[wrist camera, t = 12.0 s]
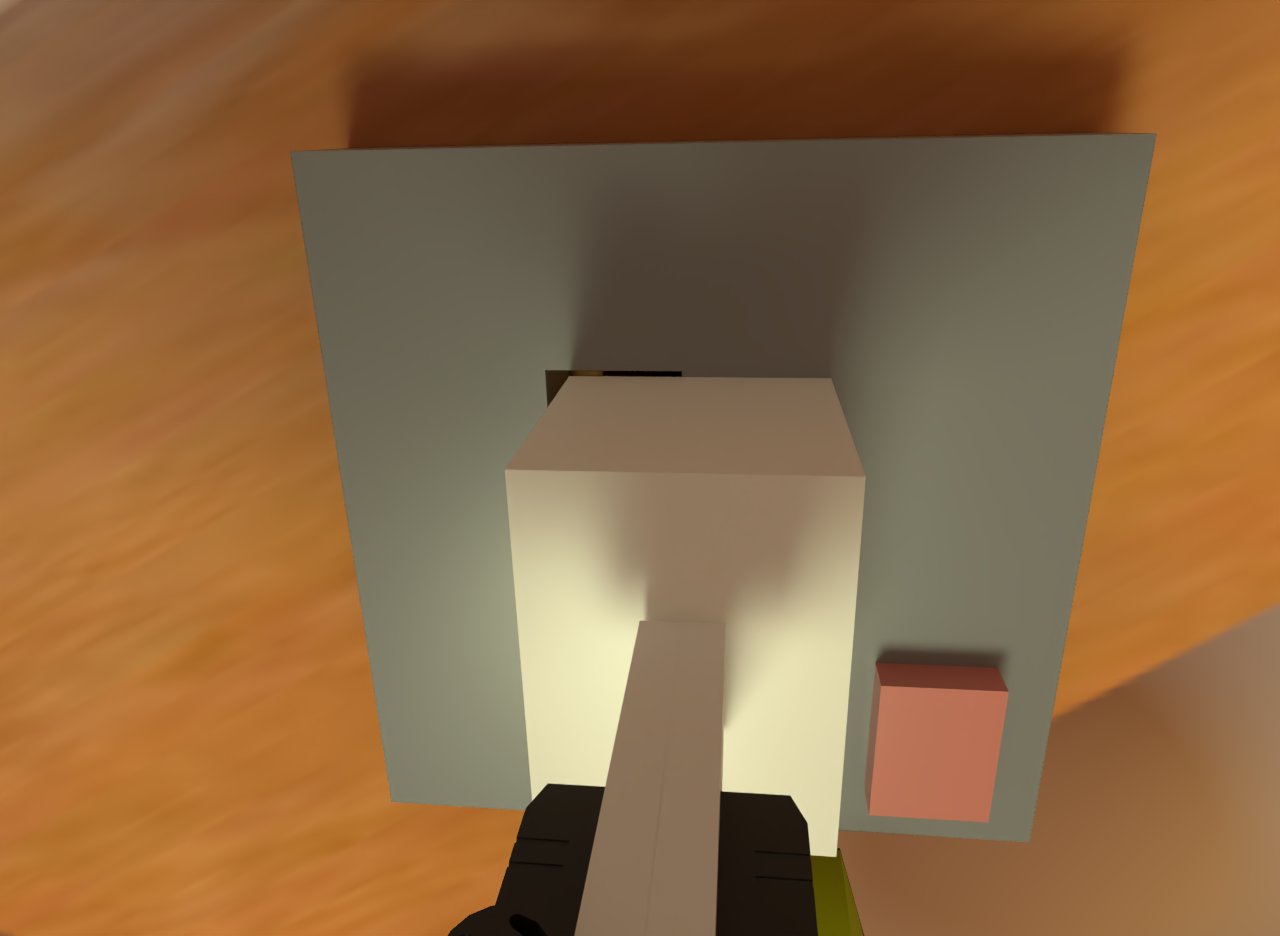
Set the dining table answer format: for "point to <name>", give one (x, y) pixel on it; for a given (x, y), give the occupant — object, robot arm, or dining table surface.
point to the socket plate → (749, 348)
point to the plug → (691, 570)
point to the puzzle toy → (834, 898)
